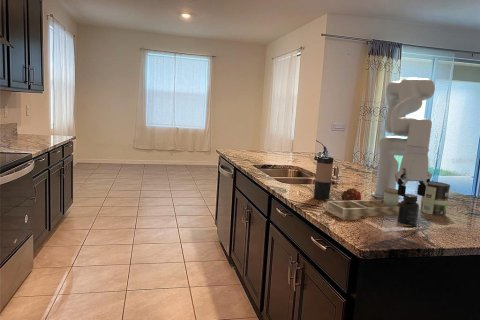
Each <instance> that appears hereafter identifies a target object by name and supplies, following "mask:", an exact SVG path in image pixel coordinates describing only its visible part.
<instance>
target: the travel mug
mask: <svg viewBox="0 0 480 320" xmlns="http://www.w3.org/2000/svg"><path fill="white" fill-rule="evenodd" d="M315 167H316V168H315V177H314V191H313V197H314V198H313V199H316V200H318V201H326V200H329V199H330V193H331V188H332V187H331V186H332V176H333V167H334V158H333V157H331V156H320V157H319V156H317V159H316V166H315Z"/></svg>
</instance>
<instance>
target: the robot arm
mask: <svg viewBox="0 0 480 320" xmlns="http://www.w3.org/2000/svg"><path fill="white" fill-rule="evenodd" d="M385 90H386V91H385V96H386V101H387V105H388V106H387V111H386V119H385V125H384V128H385V133H388V134H391V135H385V136H383V137H381V138H380V140H379V143H378V148H379V149H378V150H379V157H378V167H377V176H376V182H375V183H376V184H375V191H373V192H371V196H372V197H374V198H377V199H384V193H385V191H384V189H385V188H392V189H397V190H398V193H397V194H398V195H399V197H404V196H405V194H406V190H407V186H406V185H407V183H408V182H418V185H417V191H416V196H421V197H422V196H425V191H426V186H427V185H428V183H429V182H430V181H431V179H432V177H433V174H432V173H431V172H430V171H429V156H428V154H429V151H430V141H431V133H432V125H433V122H432V120H431V119H430V118H424V117H422V118H421V117H417V116H413V115H410V114H413V113H415V112H418V111H419V110H420V109H421V108H422V107H423V101H425V100H426V101H427V100H429V99H432V97H433V96H434V94H435V90H436V87H435V83H434V81H433V80H432V79H430V78H421V77H419V78H418V77H407V78H403V79H402V80H396V81H394V80H393V81H391V82H388V83H387V86H386V89H385ZM392 135H393V136H392ZM396 156H397V157H398V156H399V157H402V158H401V162H400V166H399V161H398V160H397V159H396ZM397 185H398V187H397ZM396 187H397V188H396Z"/></svg>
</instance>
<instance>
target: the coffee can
mask: <svg viewBox="0 0 480 320" xmlns="http://www.w3.org/2000/svg"><path fill="white" fill-rule="evenodd" d="M450 188H451V184H449V183H445V182H439V181H433V180H432V181H431V180H430V182H429V183H428V185H427V186H426V191H425V196H421V200H420V206H419V211H420V212H421V213H424V214H427V215H432V216H446V215H447V209H448V208H447V207H448V200H449V194H450Z"/></svg>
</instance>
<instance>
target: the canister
mask: <svg viewBox="0 0 480 320" xmlns="http://www.w3.org/2000/svg"><path fill="white" fill-rule="evenodd" d="M384 191H385V193H384V198H383V200H384V201H383V205H386V206H389V207H398V202H400V195H398V194H397V193H398V188H396V189H392V188H385V189H384Z"/></svg>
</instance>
